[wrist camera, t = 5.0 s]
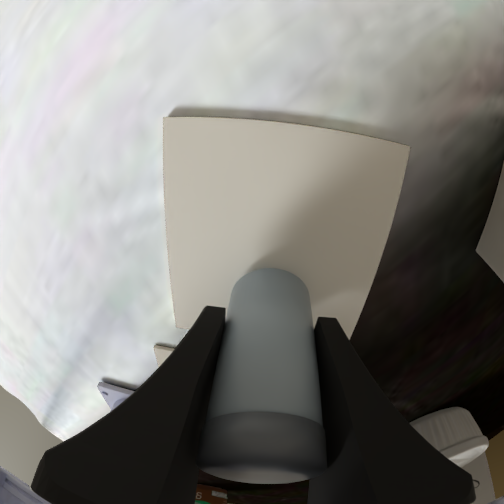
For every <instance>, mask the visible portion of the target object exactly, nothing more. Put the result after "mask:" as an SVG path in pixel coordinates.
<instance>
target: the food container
mask: <svg viewBox="0 0 504 504" xmlns="http://www.w3.org/2000/svg"><path fill="white" fill-rule="evenodd" d="M195 504H227V490H224V489H220V488H216V487H212V486H207V485H201V484H197V489H196V497H195Z"/></svg>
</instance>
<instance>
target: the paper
mask: <svg viewBox="0 0 504 504" xmlns="http://www.w3.org/2000/svg"><path fill="white" fill-rule="evenodd" d="M409 152H410V147H409V146H407V145H403V144H399V143H395V142H391V141H387V140H383V139H379V138H374V137H370V136H365V135H360V134H355V133H350V132H345V131H340V130H334V129H328V128H322V127H316V126H309V125H302V124H294V123H286V122H277V121H267V120H256V119H242V118H224V117H163V178H164V204H165V222H166V237H167V250H168V261H169V272H170V281H171V290H172V299H173V307H174V315H175V322H176V327H177V328H183V329H189V330H190V328H191V327H192V326H193V324H194V323H195V321H196V320H197V318H198V317H199V315H200V313H201V312H202V310H203V308H204V307H206V306H207V305H208V306H215V307H223V308H226V316H227V311H228V306H229V301H230V296H231V292H232V289H233V287H234V285H235V284H236V282H237V281H238V280H239V279H240V278H241V277H243V276H244V275H246V274H247V273H249V272H252V271H255V270H258V269H264V268H276V269H281V270H285V271H288V272H290V273H292V274H294V275H296V276H297V277H299V278H300V279H301V280H302V281H303V282H304V284H305V285H306V287H307V289H308V291H309V295H310V303H311V310H312V318H313V327H314V328H315V325H316V322H317V319H318V317H331V318H336V319H337V320H338V322H339V323H340V325H341V327H342V329H343V330H344V332H345V334H346V335H347V337H348V339H349V340H350V338H351V335H352V333H353V331H354V328H355V326H356V324H357V321H358V319H359V316H360V314H361V312H362V309H363V307H364V304H365V301H366V299H367V296H368V294H369V291H370V288H371V286H372V283H373V280H374V277H375V275H376V272H377V269H378V266H379V263H380V260H381V257H382V254H383V251H384V248H385V245H386V242H387V238H388V235H389V232H390V229H391V225H392V222H393V218H394V215H395V211H396V207H397V204H398V200H399V196H400V192H401V188H402V184H403V180H404V175H405V171H406V167H407V162H408V157H409ZM225 321H226V317H225Z"/></svg>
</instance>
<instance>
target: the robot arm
mask: <svg viewBox="0 0 504 504" xmlns="http://www.w3.org/2000/svg"><path fill="white" fill-rule="evenodd" d="M225 317H226V308H223V307H215V306H208V305H207V306H206V307H204V308H203V310H202V312H201V313H200V315H199V317H198V318H197V320H196V321H195V323H194V324H193V326H192V327H191V328H190V330H189V331H188V333H187V334H186V335H185V337H184V338H183V339H182V340H181V342H180V343H179V344H178V345H177V347H176V348H175V349H174V351H173V352H172V353H171V354H170V355H169V357H168V358H167V359H166V360H165V361H164V362H163V363H162V364H161V365H160V367H159V368H158V369H157V370H156V371H155V372H154V373H153V374H152V375H151V376H150V377H149V378H148V379H147V380H146V381H145V382H144V383H143V384H142V385H141V386H140V387H139V388H138V389H137V390H136V391H132V390H128V389H124V388H121V387H117V386H114V385H110V384H107V383H104V382H99V384H98V386H97V387H98V389H99V391H100V392H101V394H102V396H103V397H104V399H105V401H106V402H107V404H108V405H109V407H110V408H111V412H110V413H108V414H107V415H106V416H104V417H103V418H101V419H100V420H98V421H97V422H95V423H94V424H92V425H91V426H89V427H88V428H86V429H85V430H83V431H82V432H80V433H79V434H77V435H75V436H73V437H72V438H70V439H68V440H66V441H64V442H62V443H60V444H59V445H57V446H55V447H53V448H51V449H49V450H47V451H46V452H45V453H44V455H43V457H42V459H41V460H40V463H39V465H38V468H37V470H36V473H35V476H34V479H33V482H32V484H31V488H32V489H31V488H30V487H29V485H27V484H26V483H24V482H23V481H22V480H20V479H19V478H17V477H16V476H15V475H13V474H12V473H10V472H9V471H7V470H6V469H4V468H3V467H1V466H0V504H195V497H196V489H197V481H198V474H199V467H197V465H196V457H197V452H198V447H199V442H200V436H201V431H202V427H203V425H204V423H205V421H206V416H207V411H208V406H209V401H210V395H211V390H212V385H213V380H214V375H215V370H216V365H217V360H218V355H219V351H220V346H221V341H222V336H223V331H224V327H225ZM314 335H315V344H316V353H317V363H318V373H319V384H320V395H321V408H322V421H323V428H324V430H325V436H326V452H327V470H326V471H325V472H324V473H322V474H321V475H319V476H316V477H314V478H311V479H310V481H309V493H308V503H307V504H471V503H473V502H474V501H475V500H476V494H475V488H474V483H473V479H472V475H471V474H470V473H468V472H467V471H465V470H464V469H462V468H461V467H459V466H458V465H456V464H455V463H453V462H452V461H451V460H449V459H448V458H447V457H445V456H444V455H443V454H442V453H440V452H439V451H438V450H437V449H436V448H434V447H433V446H432V445H431V444H430V443H429V442H428V441H427V440H426V439H425V438H424V437H423V436H422V435H421V434H419V433H418V432H417V431H416V430H415V429H414V428H413V427H412V426H411V425H410V424H409V422H408V421H407V420H406V419H405V418H404V417H403V416H402V415H401V414H400V412H399V411H398V410H397V409H396V408H395V406H394V405H393V404H392V403H391V401H390V400H389V399H388V398H387V396H386V395H385V394H384V392H383V391H382V390H381V388H380V387H379V385H378V384H377V383H376V381H375V380H374V378H373V377H372V375H371V374H370V372H369V371H368V369H367V368H366V366H365V365H364V363H363V362H362V360H361V359H360V357H359V355H358V354H357V352H356V351H355V349H354V347H353V346H352V344H351V342H350V341H349V339H348V337H347V335H346V334H345V332H344V330H343V329H342V327H341V325H340V323H339V322H338V320H337V319H336V318H331V317H318V319H317V322H316V325H315V328H314ZM487 504H504V496H502V497H500V498H498V499H496V500H494V501H492V502H489V503H487Z"/></svg>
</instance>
